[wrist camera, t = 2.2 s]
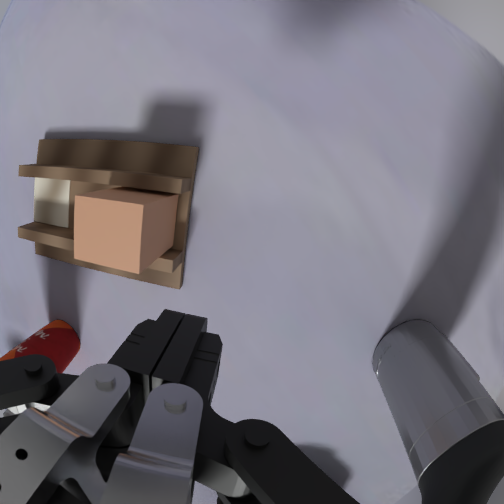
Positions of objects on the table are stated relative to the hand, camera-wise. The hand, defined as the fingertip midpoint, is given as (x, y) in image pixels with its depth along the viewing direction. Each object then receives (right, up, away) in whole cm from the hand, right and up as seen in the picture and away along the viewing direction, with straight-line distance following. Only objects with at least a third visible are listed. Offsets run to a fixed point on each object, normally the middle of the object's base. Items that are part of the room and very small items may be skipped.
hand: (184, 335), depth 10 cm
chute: (-13, +8, +18) cm, 24 cm away
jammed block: (-8, +6, +17) cm, 20 cm away
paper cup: (-24, -9, +24) cm, 35 cm away
